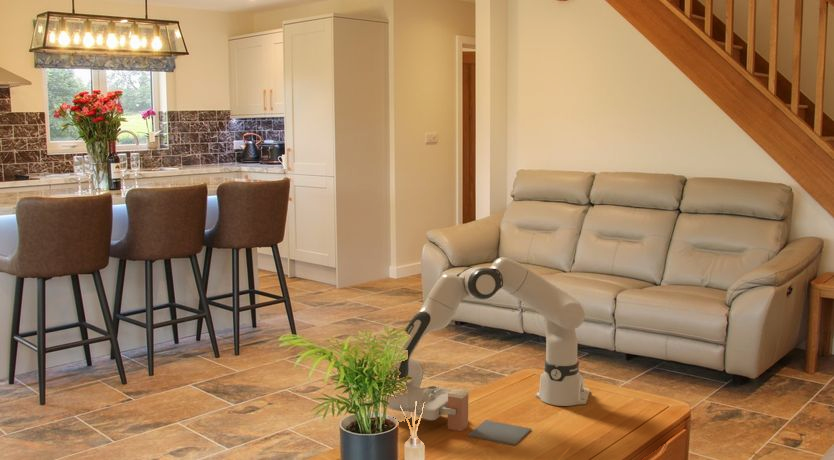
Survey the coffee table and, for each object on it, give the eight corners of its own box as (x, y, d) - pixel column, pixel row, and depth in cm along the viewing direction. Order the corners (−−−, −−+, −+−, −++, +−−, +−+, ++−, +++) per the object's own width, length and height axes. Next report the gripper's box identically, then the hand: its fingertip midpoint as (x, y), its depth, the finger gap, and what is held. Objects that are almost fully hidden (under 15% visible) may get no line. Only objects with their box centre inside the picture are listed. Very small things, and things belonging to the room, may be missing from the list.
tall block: (454, 423, 263) (454, 388, 261) (468, 426, 260) (468, 391, 259) (447, 428, 258) (447, 393, 257) (461, 431, 256) (461, 395, 255)
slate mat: (485, 421, 264) (485, 419, 264) (531, 430, 257) (531, 428, 257) (468, 435, 252) (468, 434, 252) (515, 445, 245) (515, 443, 245)
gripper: (408, 402, 255) (446, 409, 249) (436, 384, 273) (473, 390, 267) (408, 420, 256) (446, 428, 250) (436, 401, 274) (473, 408, 267)
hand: (460, 408), depth 258 cm, fingers closed on tall block, 5 cm apart
